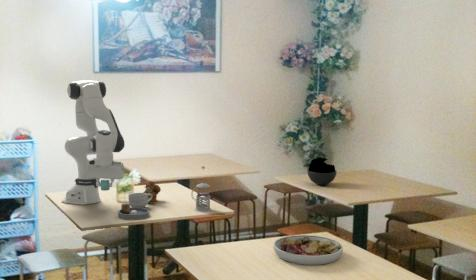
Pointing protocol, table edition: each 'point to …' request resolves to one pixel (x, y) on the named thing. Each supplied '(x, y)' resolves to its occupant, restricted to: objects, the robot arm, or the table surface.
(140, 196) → the teacup
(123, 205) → the walnut bead
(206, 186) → the french press
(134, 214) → the groove tray
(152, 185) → the stuffed squirrel
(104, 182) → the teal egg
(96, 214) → the table surface
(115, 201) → the table surface
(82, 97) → the robot arm
